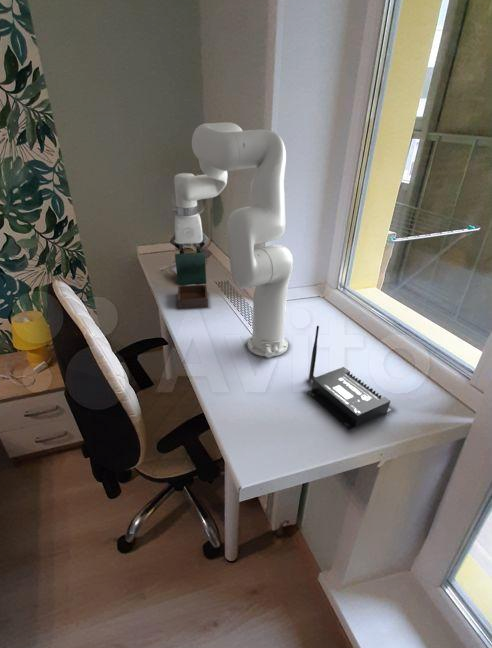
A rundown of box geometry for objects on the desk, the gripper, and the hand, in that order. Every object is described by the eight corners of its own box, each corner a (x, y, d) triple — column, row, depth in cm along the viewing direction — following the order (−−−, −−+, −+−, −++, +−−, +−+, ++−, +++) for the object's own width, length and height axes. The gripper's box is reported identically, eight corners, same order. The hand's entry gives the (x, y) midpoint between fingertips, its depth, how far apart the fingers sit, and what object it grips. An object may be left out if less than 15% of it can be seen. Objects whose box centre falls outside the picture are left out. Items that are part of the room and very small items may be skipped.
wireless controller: (392, 410, 94) (409, 352, 84) (349, 430, 88) (362, 371, 79) (336, 368, 109) (345, 315, 99) (296, 383, 103) (302, 329, 94)
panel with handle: (205, 254, 141) (204, 246, 145) (174, 255, 140) (175, 247, 144) (206, 283, 150) (205, 275, 154) (178, 285, 150) (178, 277, 153)
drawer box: (208, 307, 142) (207, 298, 140) (178, 309, 142) (177, 299, 140) (206, 293, 153) (206, 284, 151) (179, 294, 152) (178, 285, 150)
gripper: (162, 214, 134) (168, 264, 144) (211, 212, 135) (213, 261, 145) (164, 209, 140) (169, 257, 151) (210, 207, 141) (212, 255, 151)
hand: (190, 259), depth 148 cm, fingers closed on panel with handle, 5 cm apart
